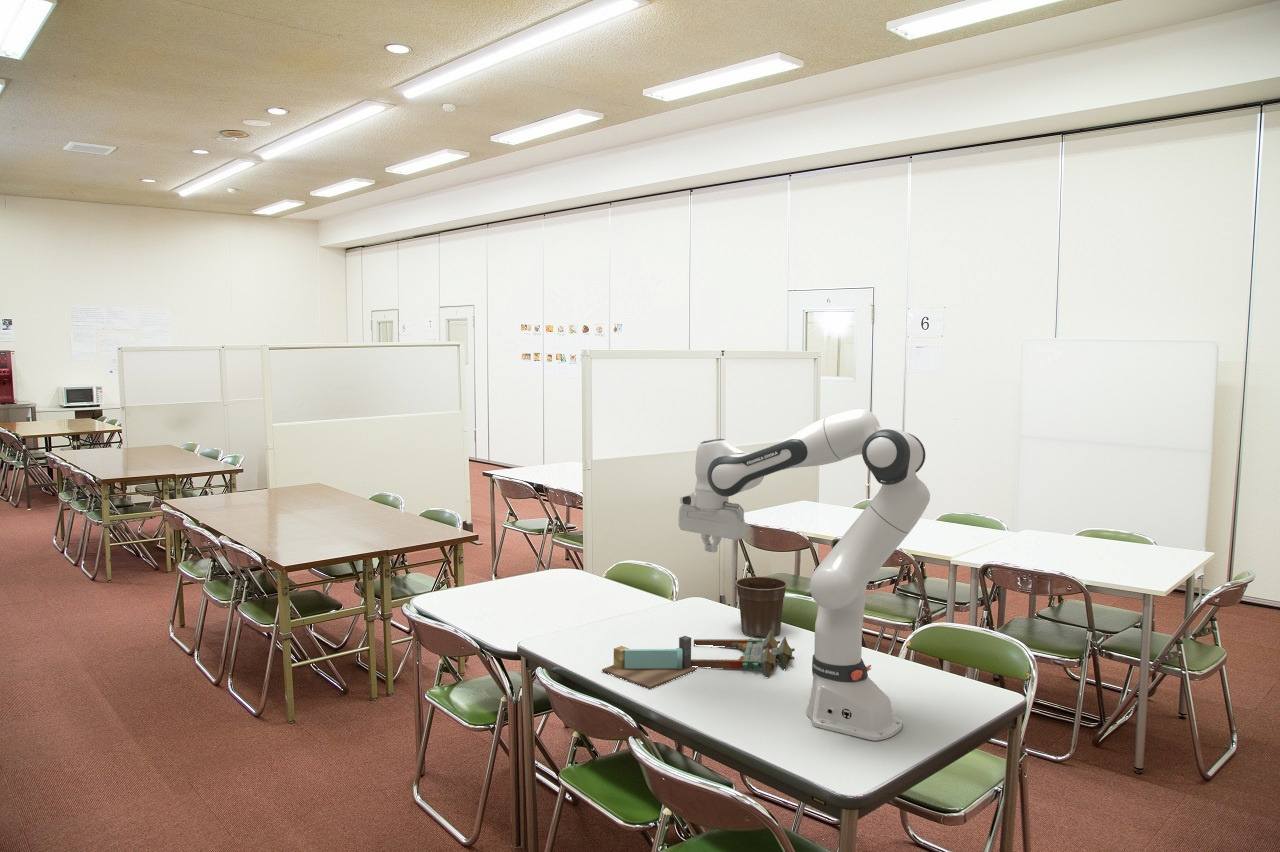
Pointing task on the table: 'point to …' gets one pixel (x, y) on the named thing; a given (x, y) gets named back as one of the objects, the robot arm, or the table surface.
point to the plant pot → (761, 605)
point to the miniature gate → (749, 654)
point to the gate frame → (651, 675)
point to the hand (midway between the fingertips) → (711, 551)
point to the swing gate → (653, 658)
